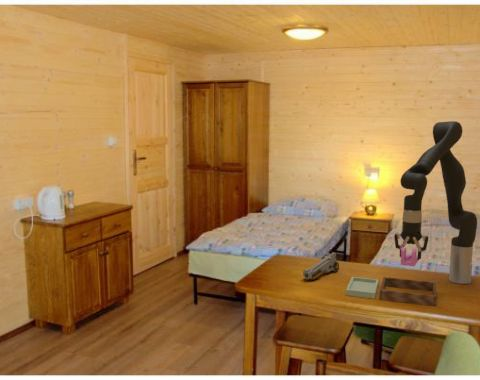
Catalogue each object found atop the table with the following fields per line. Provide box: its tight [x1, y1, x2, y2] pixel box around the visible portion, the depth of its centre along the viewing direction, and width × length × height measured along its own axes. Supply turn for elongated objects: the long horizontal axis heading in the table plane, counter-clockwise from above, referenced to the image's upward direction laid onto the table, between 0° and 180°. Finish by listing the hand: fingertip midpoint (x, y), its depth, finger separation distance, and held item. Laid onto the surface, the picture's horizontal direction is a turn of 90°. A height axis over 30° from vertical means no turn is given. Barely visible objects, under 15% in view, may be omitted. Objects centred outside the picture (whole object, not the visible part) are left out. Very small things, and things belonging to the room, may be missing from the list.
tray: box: [345, 276, 380, 300], centre depth 227 cm, size 12×19×2 cm, turn 160°
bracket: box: [400, 246, 419, 267], centre depth 218 cm, size 13×6×7 cm, turn 153°
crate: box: [379, 276, 437, 307], centre depth 220 cm, size 22×19×4 cm
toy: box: [302, 251, 340, 281], centre depth 246 cm, size 6×24×10 cm, turn 137°
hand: (410, 258), depth 218 cm, fingers closed on bracket, 6 cm apart
